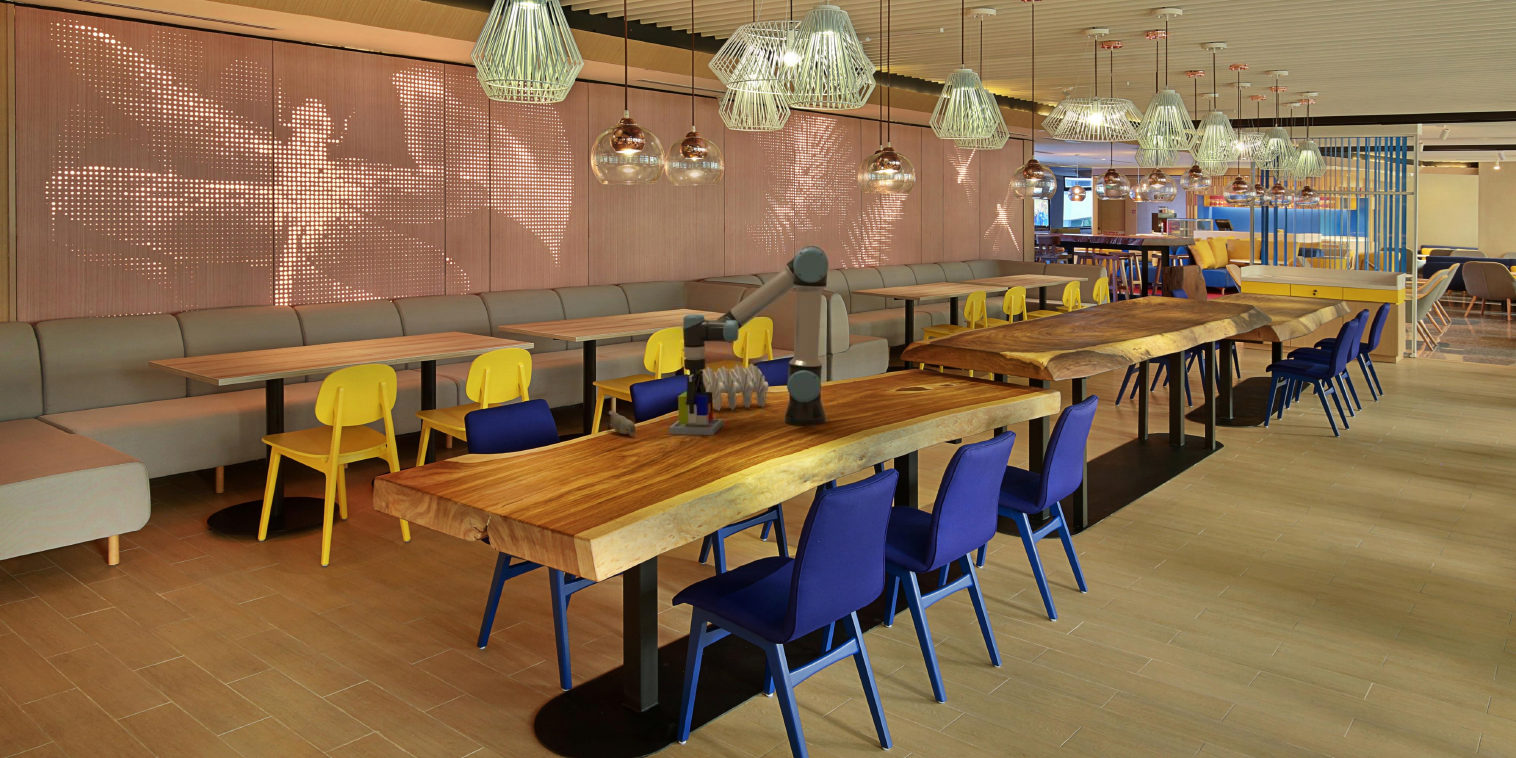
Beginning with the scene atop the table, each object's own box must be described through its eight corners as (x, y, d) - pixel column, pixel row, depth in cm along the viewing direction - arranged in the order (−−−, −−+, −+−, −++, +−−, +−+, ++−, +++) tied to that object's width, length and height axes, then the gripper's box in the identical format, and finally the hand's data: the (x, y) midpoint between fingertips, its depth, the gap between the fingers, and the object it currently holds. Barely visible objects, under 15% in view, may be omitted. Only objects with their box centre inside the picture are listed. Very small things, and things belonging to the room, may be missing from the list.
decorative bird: (627, 439, 358) (626, 418, 357) (604, 432, 370) (603, 411, 369) (640, 437, 361) (639, 416, 360) (617, 429, 374) (617, 409, 372)
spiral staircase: (769, 418, 409) (710, 420, 400) (755, 392, 422) (697, 394, 413) (778, 379, 399) (717, 381, 390) (764, 355, 413) (704, 356, 404)
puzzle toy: (706, 424, 364) (705, 397, 362) (678, 424, 366) (678, 396, 364) (713, 419, 374) (712, 392, 372) (686, 418, 376) (685, 391, 374)
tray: (723, 425, 377) (722, 419, 376) (713, 435, 361) (713, 428, 361) (680, 424, 380) (680, 418, 379) (669, 434, 364) (668, 427, 364)
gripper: (692, 353, 378) (693, 412, 381) (676, 362, 356) (677, 425, 359) (712, 353, 376) (713, 413, 380) (697, 363, 354) (698, 426, 358)
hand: (696, 419), depth 370 cm, fingers closed on puzzle toy, 10 cm apart
